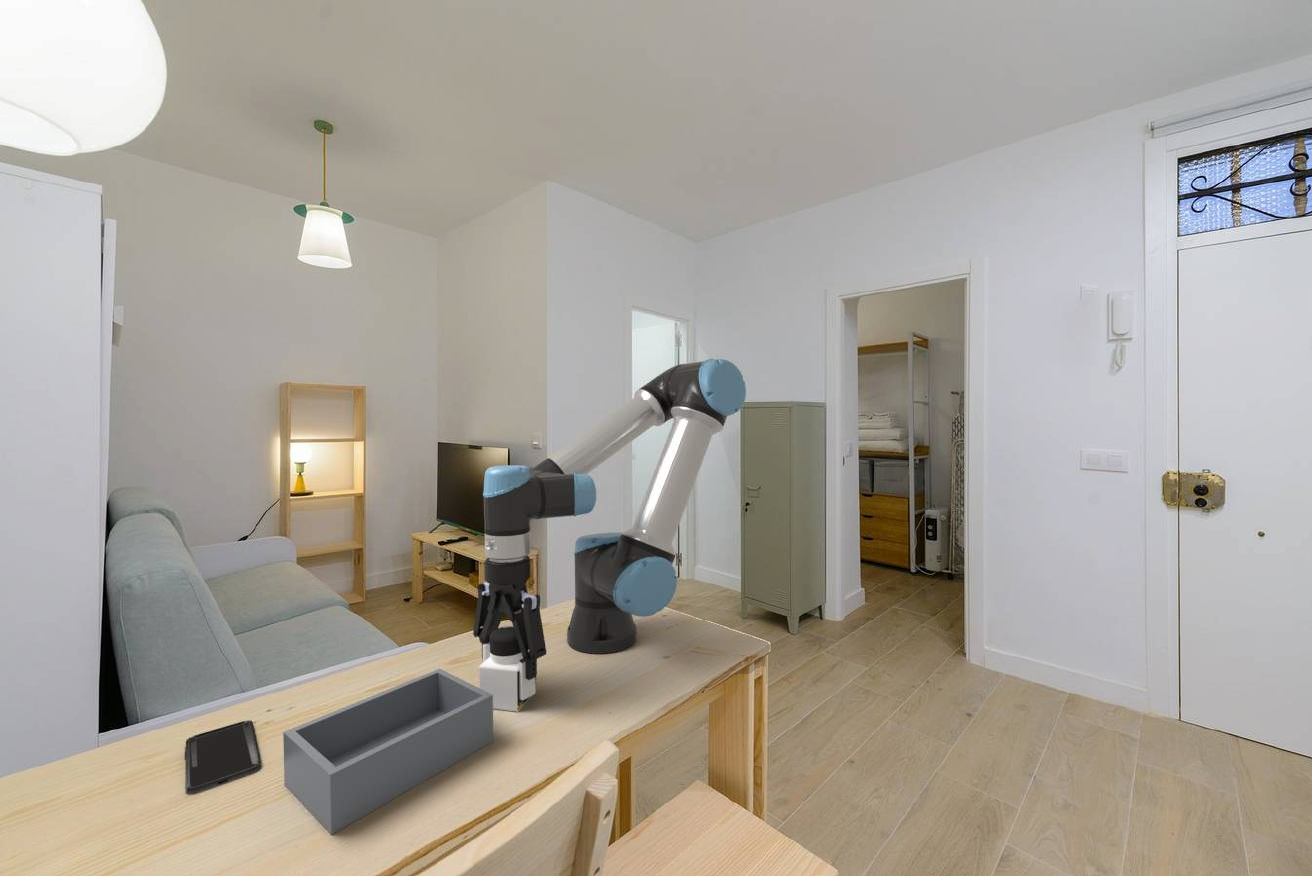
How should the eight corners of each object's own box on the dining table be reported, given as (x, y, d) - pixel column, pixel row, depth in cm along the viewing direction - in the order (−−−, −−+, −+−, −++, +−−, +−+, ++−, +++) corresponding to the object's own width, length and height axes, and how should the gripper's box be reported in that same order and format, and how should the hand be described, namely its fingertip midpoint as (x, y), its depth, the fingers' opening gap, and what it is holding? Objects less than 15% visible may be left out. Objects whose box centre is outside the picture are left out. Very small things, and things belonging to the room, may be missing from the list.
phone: (252, 718, 83) (262, 764, 71) (252, 725, 83) (262, 772, 71) (184, 738, 77) (184, 791, 66) (184, 745, 77) (184, 800, 66)
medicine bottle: (518, 712, 86) (517, 640, 85) (478, 708, 87) (477, 636, 87) (536, 690, 93) (536, 623, 92) (499, 686, 94) (499, 620, 94)
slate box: (440, 710, 86) (439, 668, 86) (493, 741, 78) (492, 694, 78) (284, 784, 68) (283, 732, 68) (331, 834, 60) (330, 775, 60)
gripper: (450, 551, 93) (452, 677, 93) (533, 572, 80) (533, 718, 80) (487, 543, 99) (488, 662, 99) (569, 562, 86) (569, 698, 86)
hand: (508, 687), depth 90 cm, fingers closed on medicine bottle, 9 cm apart
